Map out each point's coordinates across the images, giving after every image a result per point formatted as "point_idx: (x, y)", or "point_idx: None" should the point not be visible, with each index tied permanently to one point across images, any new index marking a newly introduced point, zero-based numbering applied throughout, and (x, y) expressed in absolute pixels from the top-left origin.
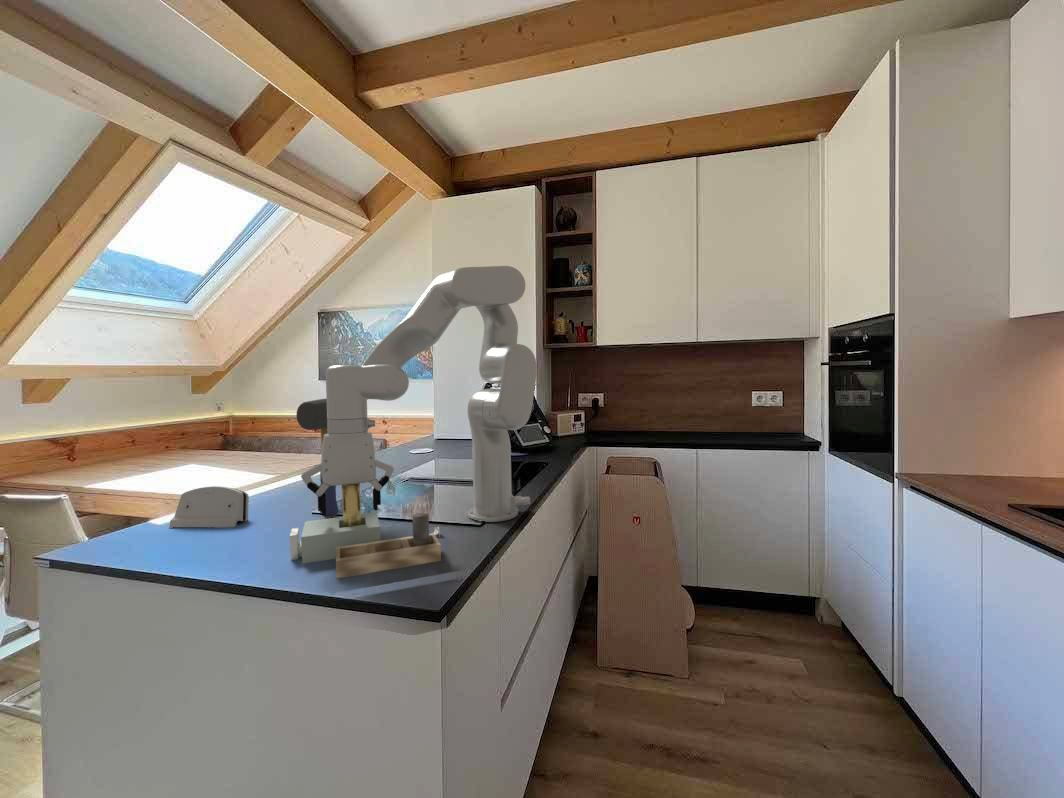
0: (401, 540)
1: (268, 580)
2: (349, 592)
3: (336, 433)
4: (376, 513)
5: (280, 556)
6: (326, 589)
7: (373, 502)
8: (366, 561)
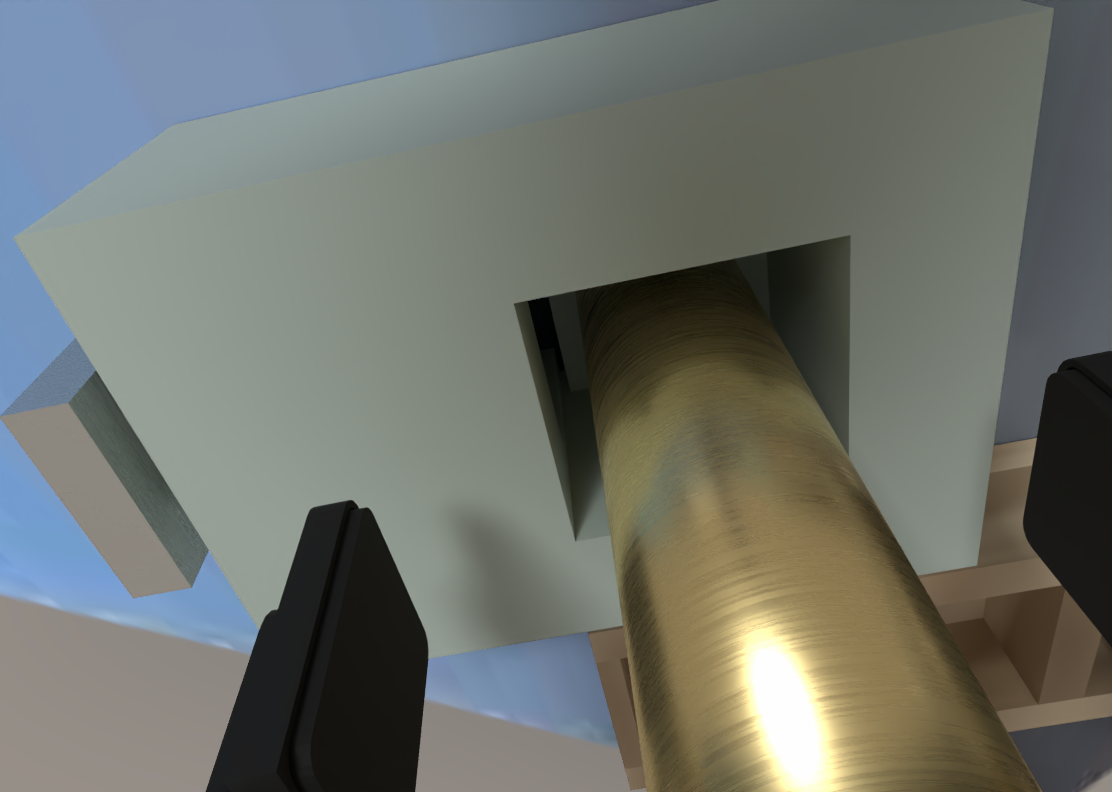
0: (1069, 597)
1: (209, 595)
2: None
3: None
4: (1038, 70)
5: (4, 236)
6: (576, 705)
7: (1090, 557)
8: None
